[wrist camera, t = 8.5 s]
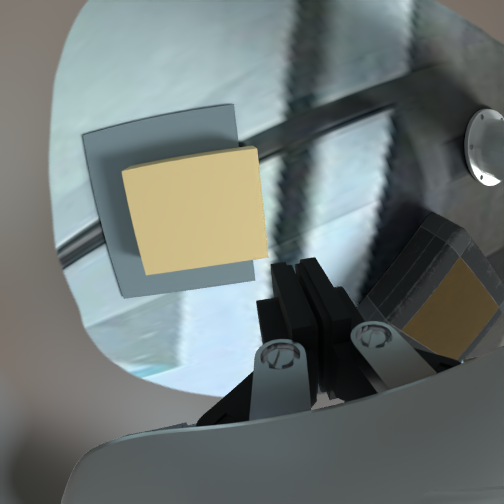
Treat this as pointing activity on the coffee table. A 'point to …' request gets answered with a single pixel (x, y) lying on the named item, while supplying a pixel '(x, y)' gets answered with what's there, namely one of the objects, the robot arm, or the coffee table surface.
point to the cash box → (438, 291)
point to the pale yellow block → (197, 210)
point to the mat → (115, 200)
